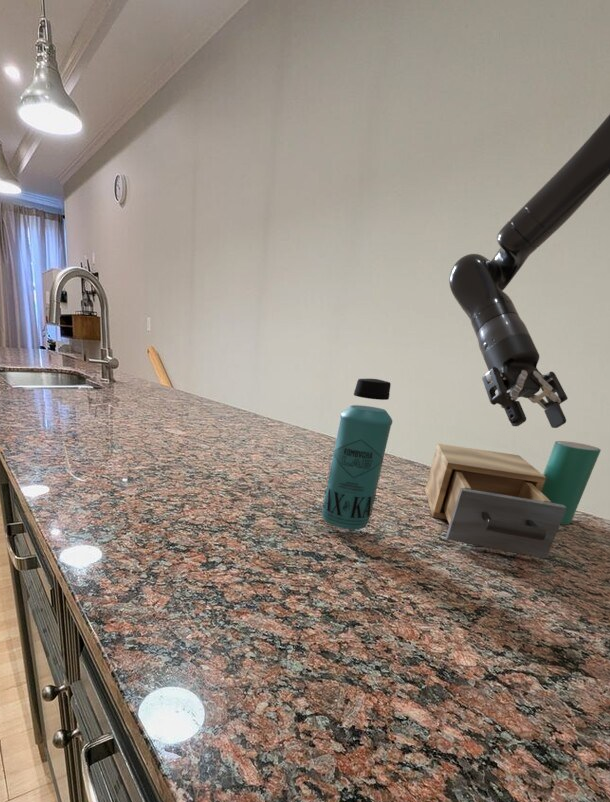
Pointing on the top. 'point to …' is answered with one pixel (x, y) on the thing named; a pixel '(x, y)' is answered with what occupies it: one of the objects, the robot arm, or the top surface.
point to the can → (568, 474)
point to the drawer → (501, 513)
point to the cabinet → (477, 463)
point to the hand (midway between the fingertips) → (540, 424)
